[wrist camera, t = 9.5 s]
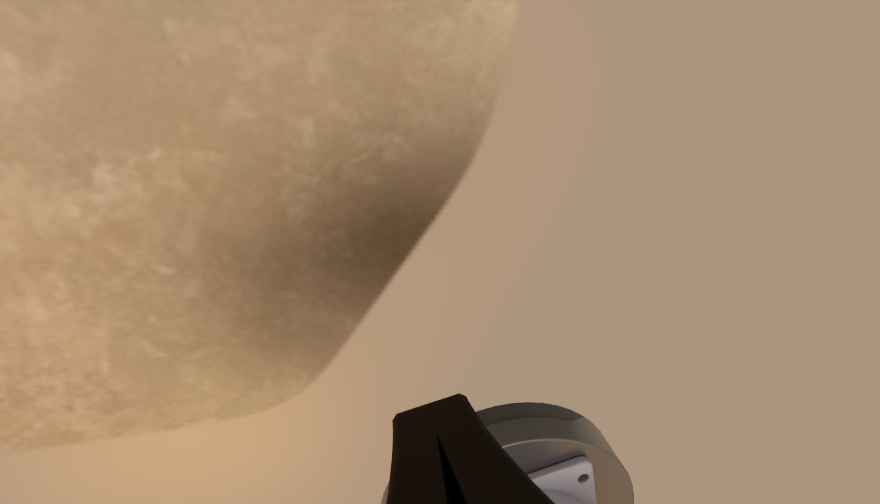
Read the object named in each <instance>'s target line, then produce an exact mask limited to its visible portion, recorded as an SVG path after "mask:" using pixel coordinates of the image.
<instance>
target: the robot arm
mask: <svg viewBox="0 0 880 504" xmlns="http://www.w3.org/2000/svg"><path fill="white" fill-rule="evenodd" d="M386 504H597V501H596V492H595V484H594V475H593V466H592V464H591V462H590V461H589V459H588V458H587V457H585V456H579V457H576V458H573V459H570V460H567V461H564V462H561V463H558V464H555V465H552V466H550V467H547V468H544V469H541V470H538V471H535V472H532V473H529V474H526V473H525V472H524V471H523V470H522V469H521V468H520V467H519V466H518V464H517V463H516V462H515V461H514V460H513V459H512V458H511V457H510V456H509V455H508V453H507V452H506V451H505V450H504V449H503V448H502V446H501V445H500V444H499V443H498V442H497V440H496V439H495V438H494V437H493V435H492V434H491V433H490V432H489V430H488V429H487V428H486V426H485V425H484V424H483V422H482V421H481V420H480V418H479V417H478V415H477V414H476V412H475V411H474V409H473V408H472V406H471V405H470V403H469V401H468V399H467V397H466V396H464V395H461V394H456V395H453V396H450V397H447V398H444V399H441V400H438V401H435V402H432V403H429V404H426V405H422V406H420V407H416V408H413V409H410V410H407V411H404V412H401V413H398V414H396V416H395V418H394V419H393V450H392V463H391V472H390V481H389V488H388V495H387V501H386Z"/></svg>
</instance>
